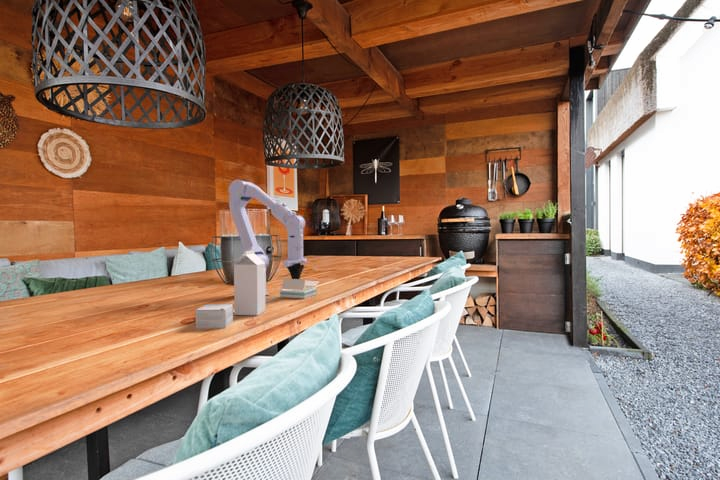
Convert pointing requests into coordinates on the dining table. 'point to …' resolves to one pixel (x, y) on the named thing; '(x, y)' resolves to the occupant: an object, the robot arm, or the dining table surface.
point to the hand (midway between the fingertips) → (295, 284)
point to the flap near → (293, 284)
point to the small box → (214, 316)
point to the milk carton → (249, 285)
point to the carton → (298, 293)
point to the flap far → (311, 283)
